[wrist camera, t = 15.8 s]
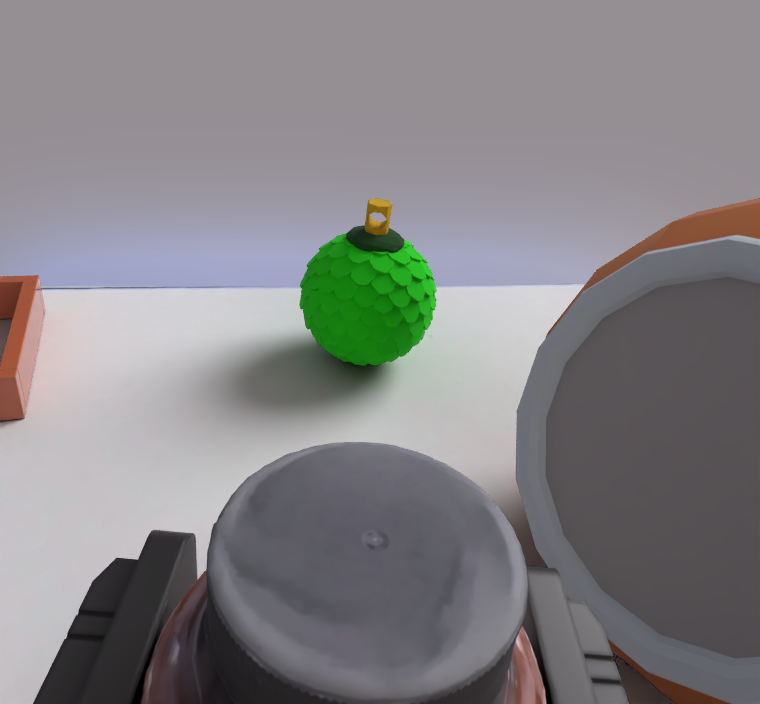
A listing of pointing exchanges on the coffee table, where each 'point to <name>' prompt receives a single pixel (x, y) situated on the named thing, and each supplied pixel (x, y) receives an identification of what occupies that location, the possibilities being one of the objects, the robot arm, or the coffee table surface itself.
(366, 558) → the supplement bottle
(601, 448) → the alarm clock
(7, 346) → the reddish-brown square frame
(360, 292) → the ornament
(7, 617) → the coffee table surface
